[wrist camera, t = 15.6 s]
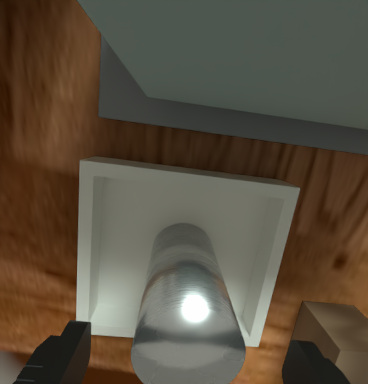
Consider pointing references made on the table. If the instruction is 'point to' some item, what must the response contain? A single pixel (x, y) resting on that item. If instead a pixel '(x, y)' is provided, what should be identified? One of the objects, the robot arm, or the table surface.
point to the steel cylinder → (186, 314)
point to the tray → (168, 215)
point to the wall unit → (238, 68)
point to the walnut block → (336, 336)
